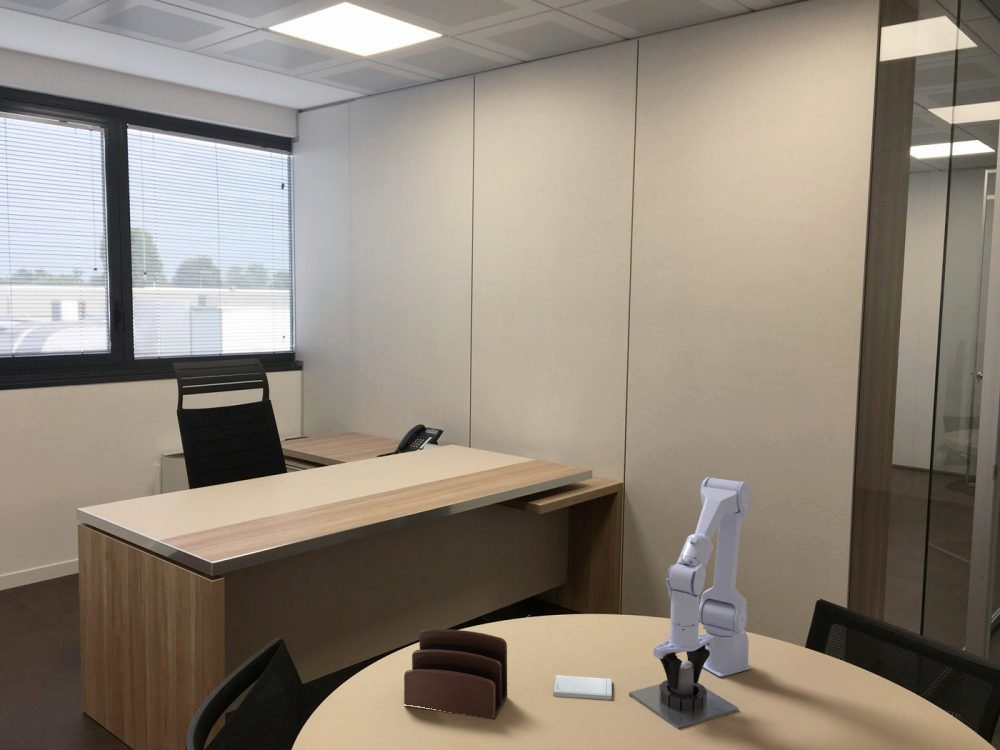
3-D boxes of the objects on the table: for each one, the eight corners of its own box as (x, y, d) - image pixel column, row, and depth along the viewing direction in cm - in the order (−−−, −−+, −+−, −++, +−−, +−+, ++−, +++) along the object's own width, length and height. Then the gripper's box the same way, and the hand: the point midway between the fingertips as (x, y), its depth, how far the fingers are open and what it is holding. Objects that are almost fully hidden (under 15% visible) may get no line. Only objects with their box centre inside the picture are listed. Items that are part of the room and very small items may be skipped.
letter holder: (420, 686, 182) (420, 623, 180) (508, 698, 176) (508, 634, 175) (403, 707, 172) (402, 641, 171) (495, 720, 167) (495, 653, 165)
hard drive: (553, 691, 177) (611, 694, 175) (555, 674, 185) (611, 677, 183) (553, 698, 177) (611, 702, 175) (555, 681, 185) (611, 684, 183)
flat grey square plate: (686, 679, 185) (687, 666, 185) (738, 710, 171) (739, 696, 171) (628, 695, 177) (629, 681, 177) (677, 728, 163) (678, 714, 163)
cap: (683, 685, 178) (683, 657, 177) (698, 694, 173) (698, 665, 173) (664, 690, 176) (664, 661, 175) (679, 699, 171) (679, 669, 171)
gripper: (698, 609, 179) (696, 669, 181) (644, 621, 173) (643, 683, 174) (721, 620, 173) (719, 682, 174) (666, 632, 167) (665, 697, 168)
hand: (683, 684), depth 174 cm, fingers closed on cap, 5 cm apart
